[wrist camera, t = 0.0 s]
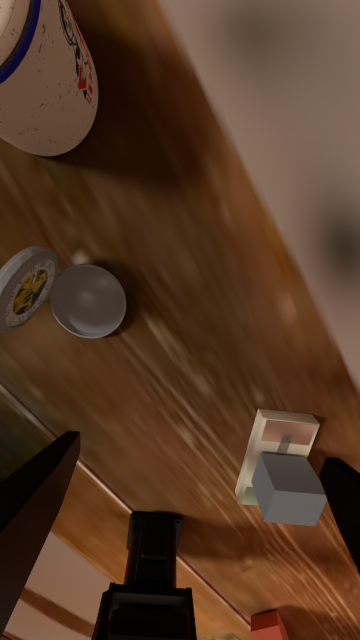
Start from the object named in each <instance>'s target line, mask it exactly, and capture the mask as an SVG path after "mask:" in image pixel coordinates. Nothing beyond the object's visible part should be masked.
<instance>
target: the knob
mask: <svg viewBox="0 0 360 640" xmlns="http://www.w3.org/2000/svg"><path fill="white" fill-rule="evenodd" d="M251 483H252V486H253V489H254V492H255V495H256V498H257V501H258V505H259V508H260V511H261V514H262V517H263V520H264V522H271V523H283V524H295V525H307V526H316V523H317V521H318V519H319V517H320V514H321V512H322V510H323V508H324V505H325V503H326V501H327V497H326V495H325V492H324V490H323V487H322V484H321V482H320V480H319V478H318V477H317V475H316V473H315V472H314V470H313V468H312V467H311V465H310V464H309V462H308V460H307V459H306V457H296V456H286V455H276V454H266V453H260V454H259V457H258V461H257V464H256V467H255V470H254V474H253V477H252V480H251Z"/></svg>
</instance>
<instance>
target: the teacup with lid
mask: <svg viewBox="0 0 360 640" xmlns="http://www.w3.org/2000/svg"><path fill="white" fill-rule="evenodd" d="M97 106H98V81H97V75H96V70H95V66H94V63H93V60H92V57H91V55H90V52H89V50H88V48H87V46H86V43H85V41H84V39H83V37H82V34H81V32H80V30H79V28H78V26H77V23H76V21H75V19H74V17H73V14H72V12H71V10H70V8H69V6H68V3H67V1H66V0H0V137H1V138H2V139H4V140H5V141H7V142H9V143H10V144H12V145H14V146H15V147H17V148H19V149H21V150H23V151H25V152H28V153H31V154H34V155H39V156H55V155H60V154H63V153H66V152H68V151H70V150H71V149H73V148H75V147H76V146H77V145H78V144H79V143H80V142H81V141H82V140H83V139H84V138H85V137H86V135H87V134H88V132H89V130H90V129H91V126H92V124H93V122H94V119H95V115H96V112H97Z"/></svg>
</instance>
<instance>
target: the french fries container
mask: <svg viewBox="0 0 360 640" xmlns="http://www.w3.org/2000/svg"><path fill="white" fill-rule="evenodd" d="M251 636H252V640H289V638H288V635H287V632H286V629H285V627H284V625H283V622H282V620H281V618H280V616H279V614H278V612H277V610H275V611H271V612H267V613H263V614H258V615H254V616H251Z"/></svg>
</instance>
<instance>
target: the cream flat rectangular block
mask: <svg viewBox="0 0 360 640" xmlns="http://www.w3.org/2000/svg"><path fill="white" fill-rule="evenodd" d="M319 426H320V424H319V422H318V421H317V420H316V419H315V417H314V416H313V415H312V414H303V413H294V412H285V411H276V410H268V409H259V408H258V411H257V415H256V418H255V422H254V426H253V429H252V433H251V436H250V440H249V443H248V447H247V450H246V454H245V457H244V461H243V464H242V468H241V471H240V475H239V478H238V482H237V486H236V489H235V493H236V497H237V501H238V504H246V505H257V506H259V505H258V501H257V498H256V495H255V492H254V489H253V486H252V483H251V480H252V477H253V474H254V470H255V467H256V464H257V461H258V457H259V454H260V453H266V454H276V455H286V456H296V457H306V459H307V457H308V455H309V452H310V449H311V447H312V444H313V441H314V439H315V436H316V434H317V431H318V428H319Z"/></svg>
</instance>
